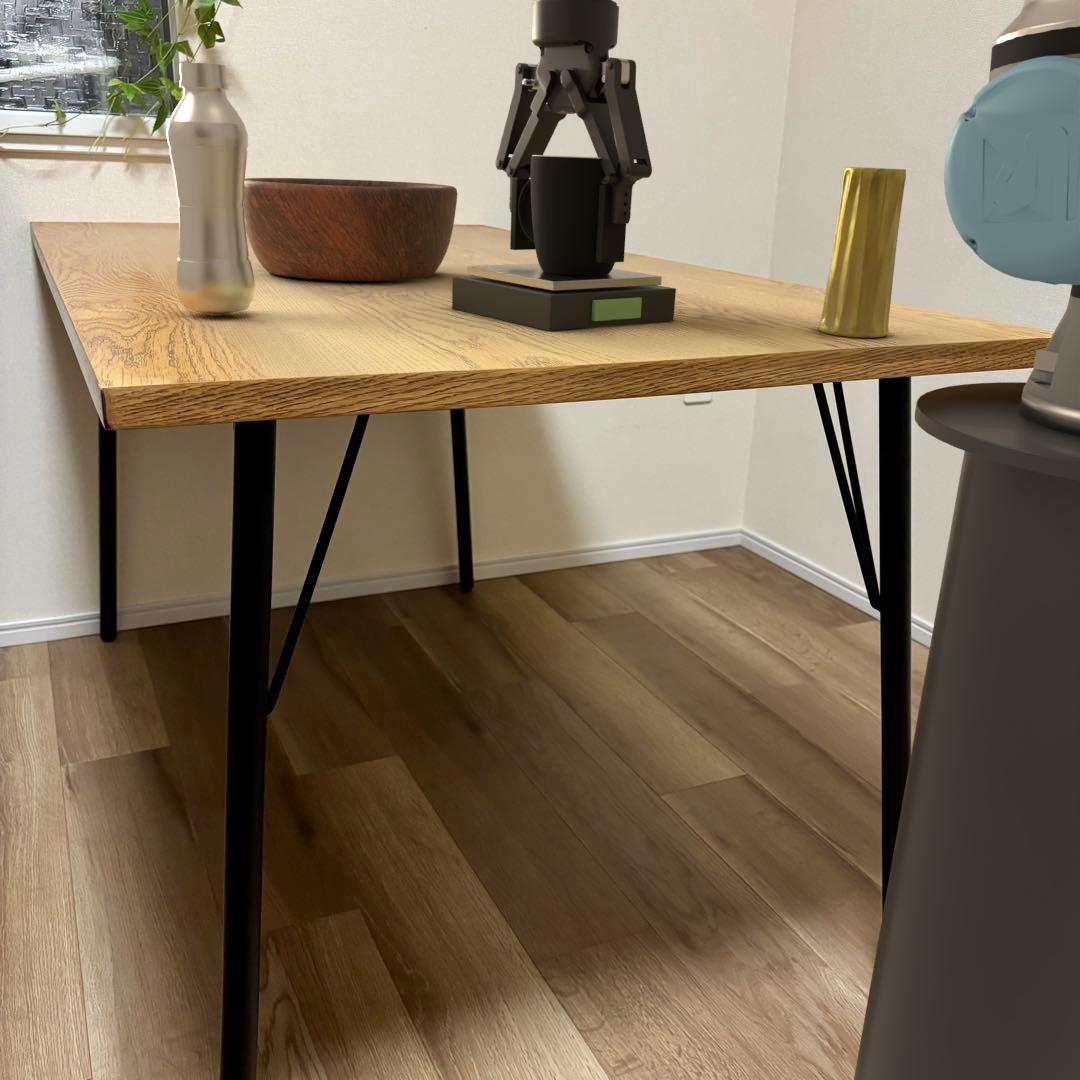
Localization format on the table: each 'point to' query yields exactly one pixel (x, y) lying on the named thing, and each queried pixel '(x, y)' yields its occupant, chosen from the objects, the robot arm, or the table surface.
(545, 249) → the mug
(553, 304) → the scale
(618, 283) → the scale pan
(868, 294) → the vase
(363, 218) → the wooden bowl
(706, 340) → the table surface
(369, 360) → the table surface
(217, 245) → the silver bottle
